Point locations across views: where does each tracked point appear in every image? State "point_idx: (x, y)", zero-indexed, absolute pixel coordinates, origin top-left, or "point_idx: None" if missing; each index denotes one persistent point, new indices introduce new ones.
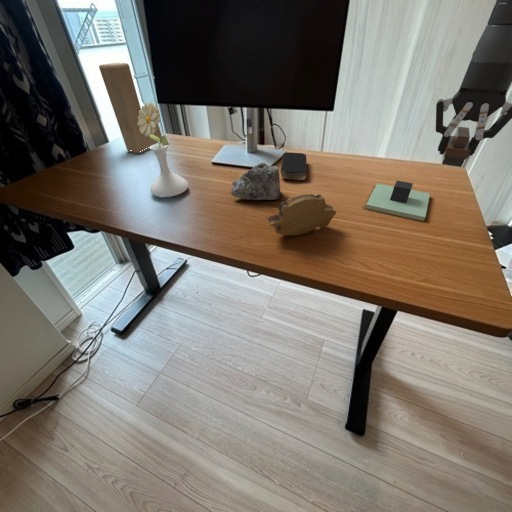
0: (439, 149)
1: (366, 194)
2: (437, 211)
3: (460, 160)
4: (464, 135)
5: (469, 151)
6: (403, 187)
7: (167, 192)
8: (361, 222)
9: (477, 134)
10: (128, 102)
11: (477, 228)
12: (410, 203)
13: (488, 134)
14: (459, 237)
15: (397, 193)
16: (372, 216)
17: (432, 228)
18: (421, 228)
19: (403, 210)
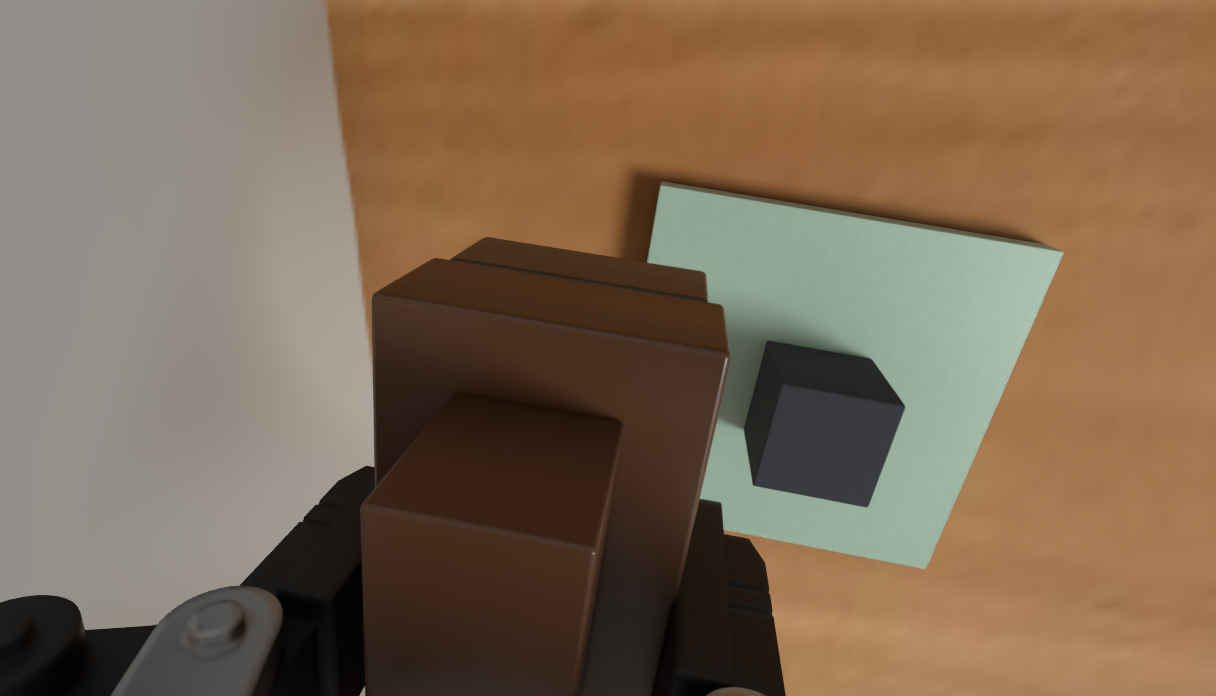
0: (740, 554)
1: (1001, 444)
2: None
3: (502, 261)
4: (461, 591)
5: (386, 286)
6: (834, 405)
7: None
8: (1113, 16)
9: (231, 678)
10: None
11: (374, 196)
12: (737, 347)
13: (47, 660)
14: (469, 48)
15: (853, 377)
16: (1007, 140)
17: (615, 107)
18: (682, 82)
19: (795, 236)
